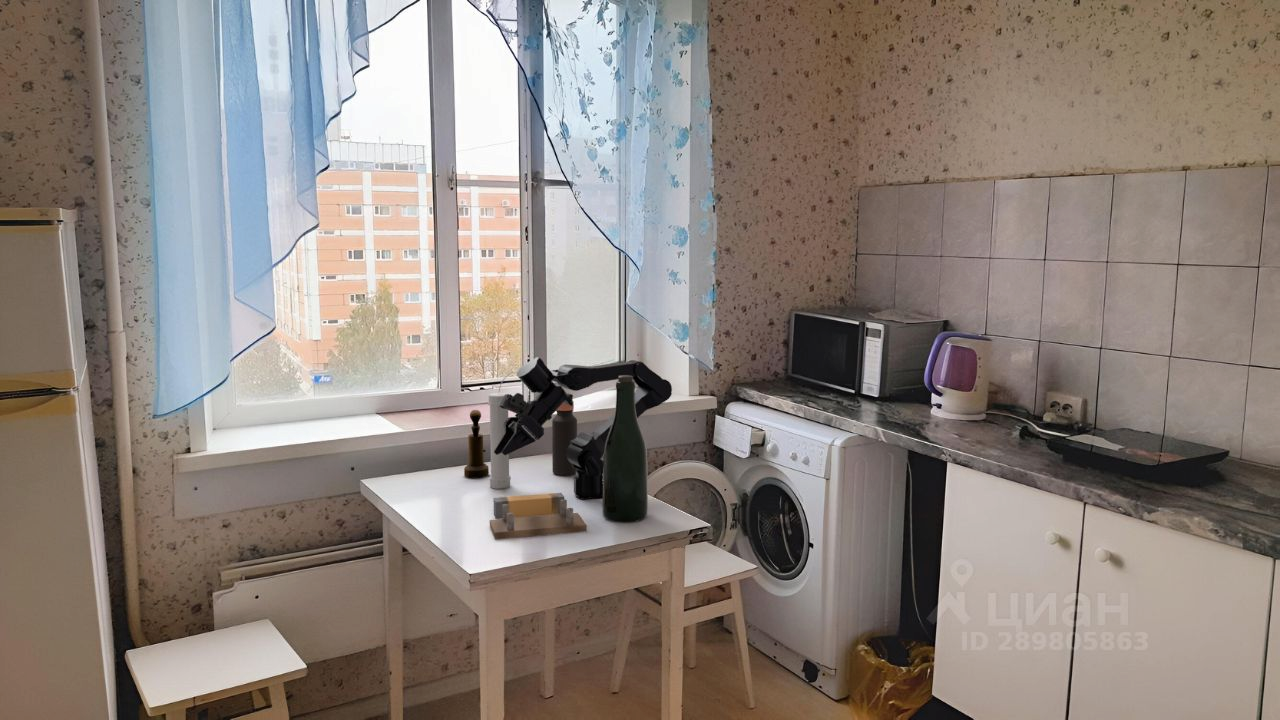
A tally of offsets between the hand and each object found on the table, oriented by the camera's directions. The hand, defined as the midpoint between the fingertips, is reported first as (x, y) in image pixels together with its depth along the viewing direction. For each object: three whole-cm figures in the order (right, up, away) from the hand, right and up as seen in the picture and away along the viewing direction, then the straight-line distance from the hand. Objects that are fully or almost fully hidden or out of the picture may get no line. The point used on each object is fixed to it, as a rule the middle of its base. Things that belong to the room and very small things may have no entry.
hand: (499, 453), depth 207 cm
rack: (+10, -15, -12) cm, 22 cm away
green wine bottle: (+30, -14, -3) cm, 33 cm away
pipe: (-3, -11, +22) cm, 25 cm away
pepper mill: (-11, -10, +33) cm, 36 cm away
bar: (+7, -14, -1) cm, 16 cm away
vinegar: (+12, -9, +36) cm, 39 cm away
